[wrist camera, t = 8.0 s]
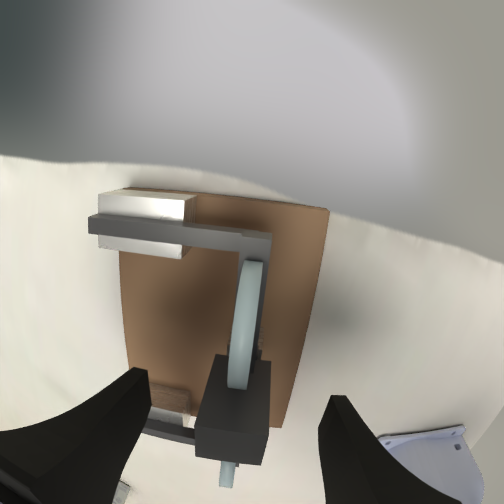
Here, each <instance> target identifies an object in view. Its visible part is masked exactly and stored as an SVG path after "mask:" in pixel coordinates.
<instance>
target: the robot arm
mask: <svg viewBox="0 0 504 504" xmlns="http://www.w3.org/2000/svg"><path fill="white" fill-rule="evenodd" d="M151 406H152V401H151V394H150V386H149V378H148V370H145V369H141V368H137V367H132V368H131V369H130V370H128V371H127V372H126V373H124V374H123V375H122V376H120V377H119V378H118V379H116V380H115V381H114V382H112V383H111V384H110V385H108V386H107V387H106V388H104V389H103V390H101V391H100V392H99V393H97V394H96V395H94V396H93V397H91V398H89V399H88V400H86V401H85V402H83V403H81V404H80V405H78V406H76V407H75V408H73V409H71V410H69V411H67V412H65V413H63V414H61V415H58V416H56V417H54V418H51V419H48V420H46V421H43V422H40V423H37V424H34V425H30V426H27V427H23V428H18V429H13V430H7V431H0V504H112V503H113V499H114V496H115V493H116V489H117V486H118V483H119V480H120V477H121V474H122V471H123V469H124V467H125V464H126V462H127V460H128V458H129V456H130V454H131V452H132V450H133V448H134V446H135V444H136V442H137V440H138V438H139V436H140V434H141V432H142V430H143V428H144V426H145V424H146V421H147V418H148V415H149V412H150V409H151ZM465 429H466V428H465V426H464V425H462V426H457V427H452V428H447V429H441V430H435V431H429V432H422V433H415V434H407V435H398V436H387V437H381V438H379V439H377V438H376V437H375V435H374V434H373V433H372V432H371V430H370V429H369V428H368V426H367V425H366V424H365V422H364V421H363V420H362V418H361V417H360V415H359V414H358V412H357V411H356V410H355V408H354V407H353V405H352V404H351V402H350V401H349V399H348V398H347V397H346V395H331V396H330V399H329V402H328V404H327V407H326V409H325V412H324V414H323V417H322V419H321V422H320V424H319V427H318V444H319V455H320V462H321V468H322V475H323V482H324V489H325V498H326V504H481V502H482V499H483V495H484V481H483V477H482V474H481V472H480V470H479V468H478V466H477V464H476V462H475V460H474V458H473V456H472V454H471V452H470V450H469V448H468V446H467V444H466V442H465V440H464V438H463V436H462V434H463V433H464V431H465Z"/></svg>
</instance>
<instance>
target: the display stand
mask: <svg viewBox="0 0 504 504" xmlns="http://www.w3.org/2000/svg"><path fill="white" fill-rule="evenodd" d="M98 214H108V215H119V216H129V217H139V218H149V219H159V220H169V221H178V222H188V223H197V224H206V225H215V226H224V227H232V228H241V229H249V230H258V231H259V232H267V233H272V244H271V252H270V260H269V267H268V275H267V282H266V290H265V297H264V304H263V311H262V318H261V325H260V332H259V339H258V345H259V349H258V358H257V359H258V360H266V361H271V388H270V416H269V427H275V428H282V424H283V421H284V418H285V414H286V411H287V407H288V403H289V400H290V396H291V393H292V389H293V385H294V381H295V377H296V374H297V370H298V366H299V362H300V358H301V354H302V349H303V345H304V341H305V337H306V332H307V328H308V324H309V319H310V315H311V310H312V305H313V301H314V296H315V291H316V286H317V281H318V276H319V271H320V266H321V260H322V255H323V250H324V244H325V238H326V232H327V226H328V220H329V214H330V211H329V210H327V209H326V208H320V207H313V206H306V205H299V204H292V203H284V202H277V201H269V200H261V199H252V198H244V197H235V196H225V195H216V194H206V193H195V192H184V191H172V190H160V189H146V188H131V187H128V188H123V189H118V190H114V191H109V192H105V193H101V194H98ZM98 241H99V248H105V249H112V250H119V267H120V287H121V301H122V313H123V324H124V333H125V342H126V350H127V357H128V364H129V370H130V369H131V368H132V367H137V368H141V369H145V370H148V378H149V386H150V394H151V401H152V406H151V409H150V412H149V415H148V418H149V419H153V420H157V421H161V422H165V423H170V424H174V425H179V426H183V427H187V426H188V423H189V420H190V417H191V416H195V417H197V415H198V411H199V408H200V404H201V401H202V398H203V394H204V391H205V388H206V384H207V381H208V377H209V374H210V371H211V367H212V364H213V361H214V357H215V354H221V355H227V356H229V353H230V343H231V335H232V327H233V316H234V306H235V295H236V285H237V274H238V264H239V254H240V252H233V251H225V250H217V249H209V248H201V247H193V246H185V245H177V244H169V243H161V242H153V241H145V240H137V239H129V238H121V237H113V236H105V235H98Z"/></svg>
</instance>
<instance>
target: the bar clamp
mask: <svg viewBox="0 0 504 504" xmlns="http://www.w3.org/2000/svg"><path fill="white" fill-rule="evenodd" d="M88 233H89V234H97V235H105V236H113V237H121V238H129V239H137V240H145V241H153V242H161V243H169V244H177V245H185V246H193V247H201V248H209V249H217V250H225V251H233V252H240V254H239V264H238V274H237V285H236V295H235V306H234V316H233V327H232V335H231V343H230V353H229V356H227V355H221V354H215V357H214V361H213V364H212V367H211V371H210V374H209V377H208V381H207V384H206V388H205V391H204V394H203V398H202V401H201V404H200V408H199V411H198V415H197V418H196V421H195V425H194V429H193V428H188V427H183V426H179V425H174V424H170V423H165V422H161V421H157V420H153V419H149V418H147V421H146V424H145V426H144V428H143V430H142V432H141V433H144V434H148V435H151V436H155V437H159V438H163V439H167V440H171V441H176V442H180V443H185V444H190V445H195V456H196V457H202V458H207V459H213V460H219V461H221V469H220V478H219V487H226V488H232V486H233V480H234V473H235V467H239V463H241V464H250V465H261V463H262V459H263V456H264V452H265V448H266V444H267V440H268V437H269V416H270V388H271V361H266V360H258V359H257V358H258V349H259V345H258V339H259V332H260V325H261V318H262V311H263V304H264V297H265V290H266V282H267V275H268V267H269V260H270V252H271V244H272V233H267V232H259V231H258V230H249V229H241V228H232V227H224V226H215V225H206V224H197V223H188V222H178V221H169V220H159V219H149V218H139V217H129V216H119V215H108V214H95V215H92V216H90V217H88Z"/></svg>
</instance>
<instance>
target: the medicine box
mask: <svg viewBox="0 0 504 504" xmlns="http://www.w3.org/2000/svg"><path fill="white" fill-rule="evenodd" d="M129 490H130V487H129V486H127V485H126V484H124V483H123V482H121V481H119V483H118V486H117V489H116V493H115V496H114V499H113V503H112V504H124V503H125V500H126V498H127V495H128V492H129Z"/></svg>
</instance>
